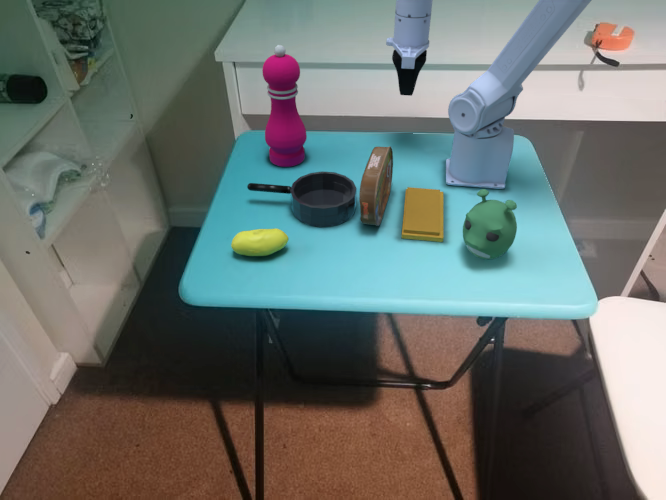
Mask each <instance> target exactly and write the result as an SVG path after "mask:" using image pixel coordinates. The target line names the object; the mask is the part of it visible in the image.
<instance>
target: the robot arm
mask: <svg viewBox="0 0 666 500" xmlns="http://www.w3.org/2000/svg"><path fill="white" fill-rule="evenodd" d="M591 2H592V0H538V1H537V3H536V4H535V5H534V6H533V7H532V9H531V10H530V12H529V13H528V15H526V17H525V19H524V20H523V21H522V23H521V24H520V26H519V27H517V29H516V30H515V32H514V33H513V34H512V36H511V38H510V39H509V40H508V42H507V43H506V44H505V45H504V47H503V48H502V49H501V51H500V52H499V53H498V55H497V56H496V58H495V59H494V60H493V62H492V63H491V65H490V66H489V67H488V68H487V70H486V71H485V72H483V73H482V74H481V75H480V76H479V77H477V78H476V79H475V80H474V81H472V82H471V83H470V84H469V85H468V87H467V88H466V89H465V90H464V91H463V92H461V93H458V94H456V95H455V96H453V97H452V98H451V100H450V101H449V103H448V107H447V108H448V109H447V113H448V119H449V122H450V124H451V125H452V129H453V130H454V132H453V138H452V139H453V140H452V145H451V153H450V158H446V159H445V183H446V185H448V186H457V187H470V188H481V189H495V190H496V189H497V190H504V189H505V188H506V181H507V177H508V172H509V168H510V164H511V160H512V155H513V150H514V143H515V131H514V129H513V128H512V127H507V126H504V125H505V124H504V123H505V119H506V117H508V116H509V115H510V114H512V113H513V112H514V110H515V108H516V104H517V100H518V98H519V96H520V94H521V93H522V92H523V91H524V87H523V83H524V82H525V81H526V80H527V78H528V77H529V76H530V74H531V73H532V72H533V71H534V70H535V69H536V68H537V67H538V65H539V64H540V63H541V61H542V60H543V59H544V58H545V57H546V56H547V54H548V53H549V52H550V51H551V49H552V48H553V47H554V46H555V45H556V44H557V42H559V40H560V39H561V37H562V36H563V35H564V34H565V32H567V31H568V29H569V28H570V27H571V26H572V25H573V23H574V22H576V20H577V19H578V17H579V16H580V15H581V14H582V12H583V11H584V10H585V9H586V8H587V7H588V5H589V4H590V3H591ZM432 10H433V0H395V11H394V25H393V30H394V31H393V37H387V38H386V40H385V45H386V46H389V47H392V48H393V51H392V54H391V56H392V57H391V61H392V63H393V65H394V67H395V71H396V75H397V81H398V91H399V94H400V96H409V97H410V96H411V97H412V96H413V95H414V91H415V88H416V85H417V81H418V77H419V75H420V73H421V71H422V69H423V67H424V66H425V64H426V62H427V54H428V51H427V49H428V48H429V47H430V40H429V39H430V30H431V29H430V27H431V19H432V12H433V11H432Z"/></svg>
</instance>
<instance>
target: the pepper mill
mask: <svg viewBox="0 0 666 500" xmlns="http://www.w3.org/2000/svg"><path fill="white" fill-rule="evenodd" d="M286 52H287V51H286V48H285V46H283V45H282V44H277V45H276V46H275V47H274V49H273V53H274V54H272V55H270V56H269V57H267V58H266V59H265V61H264V62H263V65H262V69H261V70H262V78H263V80H264V82H266V84H267V85H266V89H267V93H266V94H267V96H268V97H269V98H270V114H269V118H268V120H267V123H266V126H265V130H264V141H265V143H266V145H267V146H268V147H269V150H268V154H269V160H270V163H272V164H273V165H275V166H278V167H283V168H290V167H296V166H298V165H300V164H301V163H303V162H304V160H305V157H306V156H305V152H306V151H305V147H304V145H305V143H306V141H307V138H308V136H307V129H306V126H305V124H304V122H303V120H302V118H301V116H300V113H299V110H298V107H297V101H296V99H297V98H296V97H297V96H298V94H299V89H298V88H299V86H298V84H297V83H298V80H299V79H300V78H301V77H300V76H301V69H300V65H299V62H298V61H297V60H296V59H295V57H293V56H292V55H290V54H287V53H286Z"/></svg>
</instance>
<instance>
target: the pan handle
mask: <svg viewBox="0 0 666 500" xmlns="http://www.w3.org/2000/svg"><path fill="white" fill-rule="evenodd" d="M246 187H247V190H248V191H250V192H261V193H262V192H263V193H264V192H265V193H273V194H287V195H289V194H290V189H291V187H292V186H290V185H282V184H268V183H259V182H258V183H256V182H249V183H248V184H247V186H246ZM290 195H291V194H290Z"/></svg>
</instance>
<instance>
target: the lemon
mask: <svg viewBox="0 0 666 500" xmlns="http://www.w3.org/2000/svg"><path fill="white" fill-rule="evenodd" d="M289 239H290V238H289V236H288V234H287V233H286V232H284V230H282V229H280V228H258V229H250V230H242V231H239V232H237V233H236V234H235V235H234V236H233V238H232V240H231V243H230V246H231V249H232V251H234V253H236V254H238V255H241V256H247V257H267V256H270V255H272V254H274V253H277V252H279V251H281V250H282V249H284V247H286V246H287V244H288V243H289Z"/></svg>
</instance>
